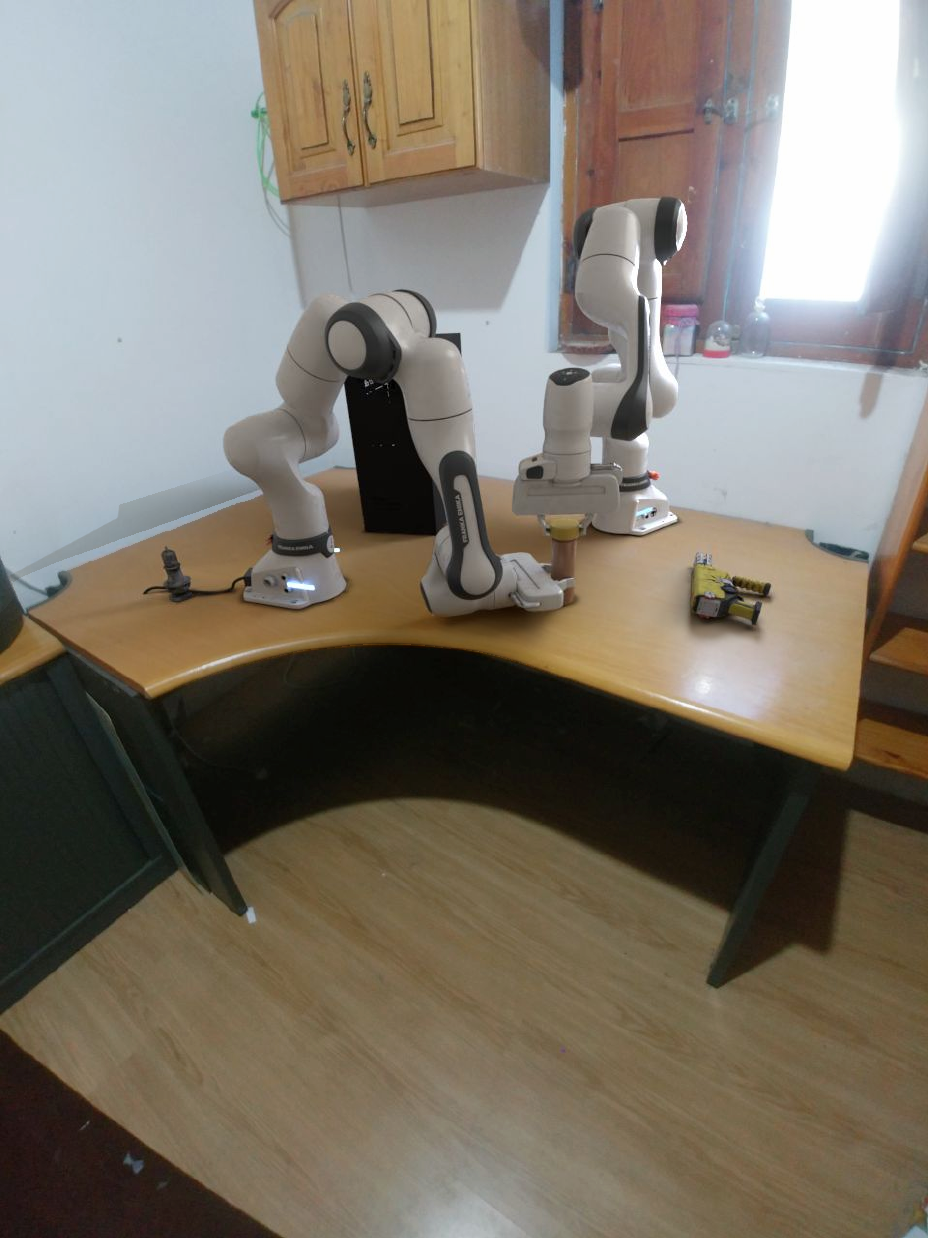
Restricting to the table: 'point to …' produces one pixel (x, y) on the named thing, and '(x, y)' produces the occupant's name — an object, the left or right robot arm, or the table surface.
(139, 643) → the table surface
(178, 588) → the grey chess piece
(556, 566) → the jar
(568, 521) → the lid
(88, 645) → the table surface
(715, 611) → the toy gun
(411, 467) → the black computer case
